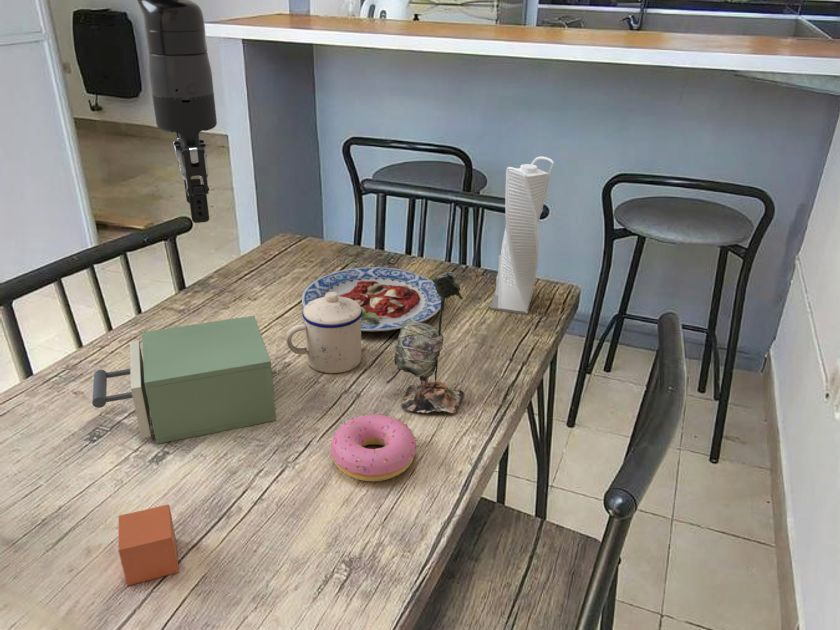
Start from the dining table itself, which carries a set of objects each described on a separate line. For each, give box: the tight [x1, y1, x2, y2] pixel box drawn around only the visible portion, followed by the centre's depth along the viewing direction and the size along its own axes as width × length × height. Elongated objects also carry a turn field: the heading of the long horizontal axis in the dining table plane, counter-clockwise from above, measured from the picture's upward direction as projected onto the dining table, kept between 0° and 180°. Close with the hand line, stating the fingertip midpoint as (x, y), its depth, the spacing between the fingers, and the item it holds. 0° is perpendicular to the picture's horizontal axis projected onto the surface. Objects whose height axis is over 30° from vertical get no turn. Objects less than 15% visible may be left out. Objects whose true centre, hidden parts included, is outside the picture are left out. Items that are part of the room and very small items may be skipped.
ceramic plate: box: [301, 266, 442, 332], centre depth 124 cm, size 26×26×3 cm
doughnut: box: [329, 414, 418, 482], centre depth 86 cm, size 11×11×4 cm
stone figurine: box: [385, 271, 466, 414], centre depth 94 cm, size 8×11×20 cm
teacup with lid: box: [285, 292, 363, 374], centre depth 105 cm, size 12×9×12 cm
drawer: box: [91, 339, 152, 440], centre depth 93 cm, size 20×12×8 cm, turn 111°
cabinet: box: [141, 315, 277, 445], centre depth 95 cm, size 16×14×10 cm
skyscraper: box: [489, 155, 555, 315], centre depth 120 cm, size 8×8×28 cm
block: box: [117, 504, 180, 586], centre depth 71 cm, size 5×5×5 cm
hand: (197, 211), depth 94 cm, fingers open, 8 cm apart
